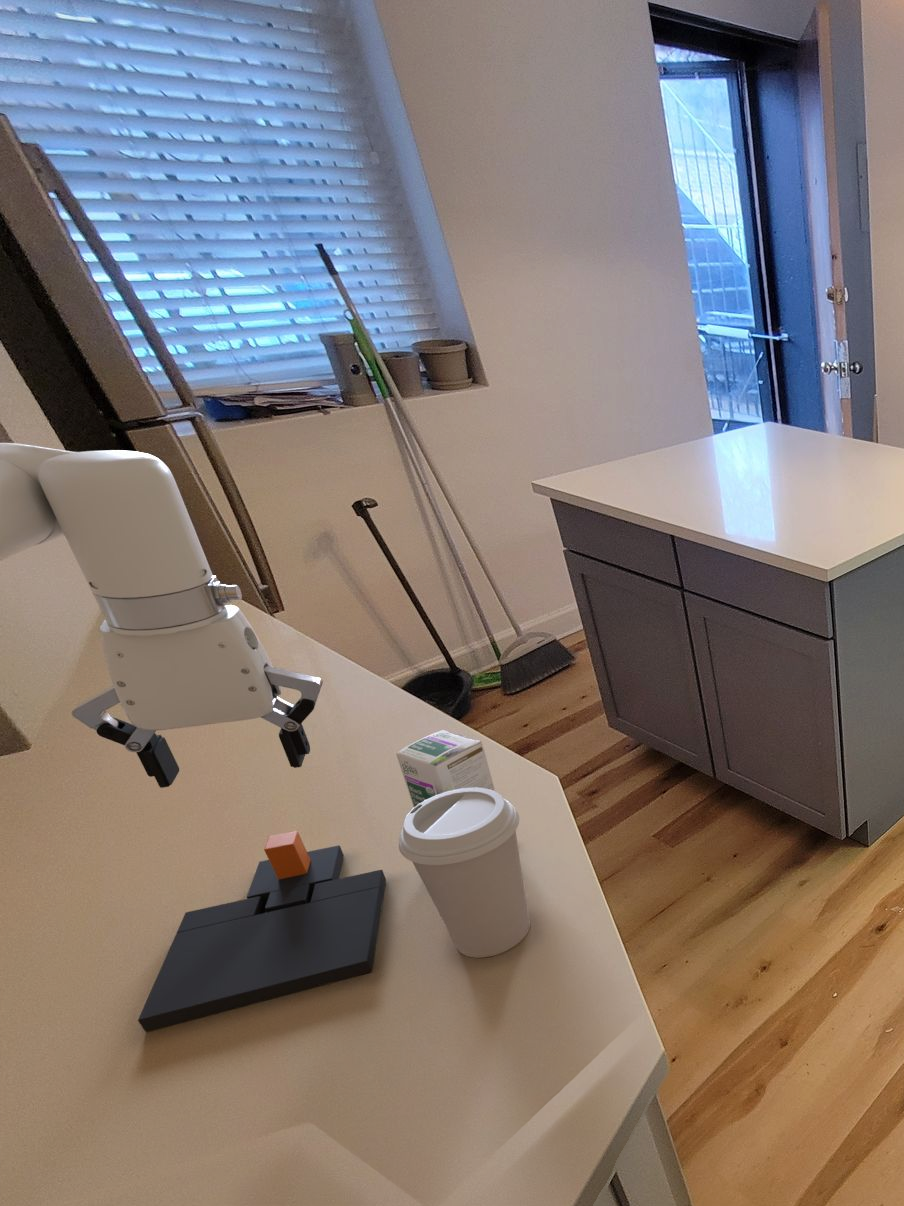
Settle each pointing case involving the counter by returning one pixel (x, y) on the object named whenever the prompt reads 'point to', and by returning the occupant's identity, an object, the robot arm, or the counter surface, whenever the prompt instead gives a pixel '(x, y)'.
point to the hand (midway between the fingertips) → (236, 769)
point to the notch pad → (266, 950)
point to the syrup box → (443, 765)
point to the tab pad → (297, 884)
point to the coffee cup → (470, 867)
